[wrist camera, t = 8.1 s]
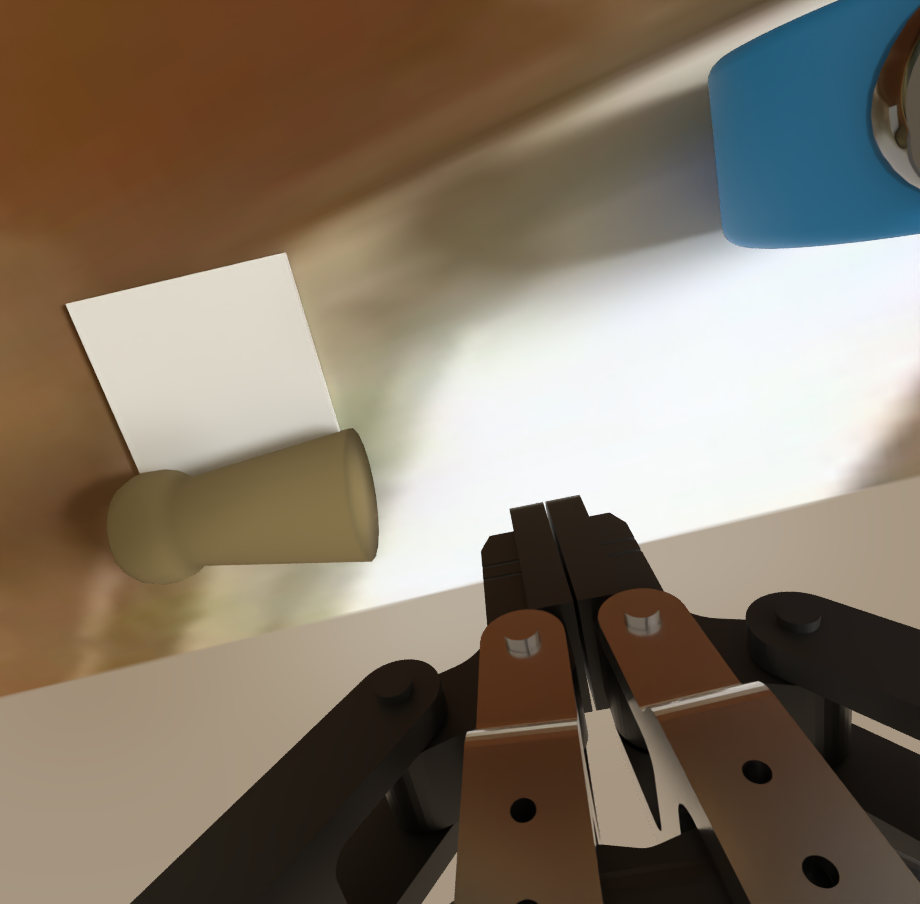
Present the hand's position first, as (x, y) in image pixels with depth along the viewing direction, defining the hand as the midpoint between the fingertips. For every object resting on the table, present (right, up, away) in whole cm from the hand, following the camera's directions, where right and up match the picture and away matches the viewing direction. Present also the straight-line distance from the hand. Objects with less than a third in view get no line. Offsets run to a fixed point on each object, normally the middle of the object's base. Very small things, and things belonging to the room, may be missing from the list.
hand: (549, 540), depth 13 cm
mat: (-13, +4, +16) cm, 21 cm away
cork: (-6, 0, +15) cm, 16 cm away
